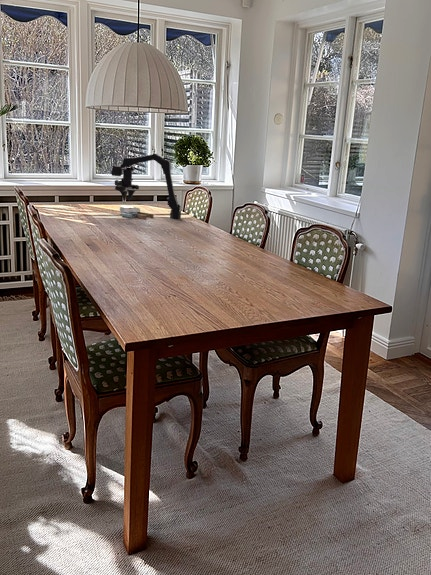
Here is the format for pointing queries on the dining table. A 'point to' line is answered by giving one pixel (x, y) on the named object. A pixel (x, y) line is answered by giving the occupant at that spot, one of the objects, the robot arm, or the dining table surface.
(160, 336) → the dining table surface
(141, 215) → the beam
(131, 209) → the silver metal tumbler
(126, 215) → the v block
